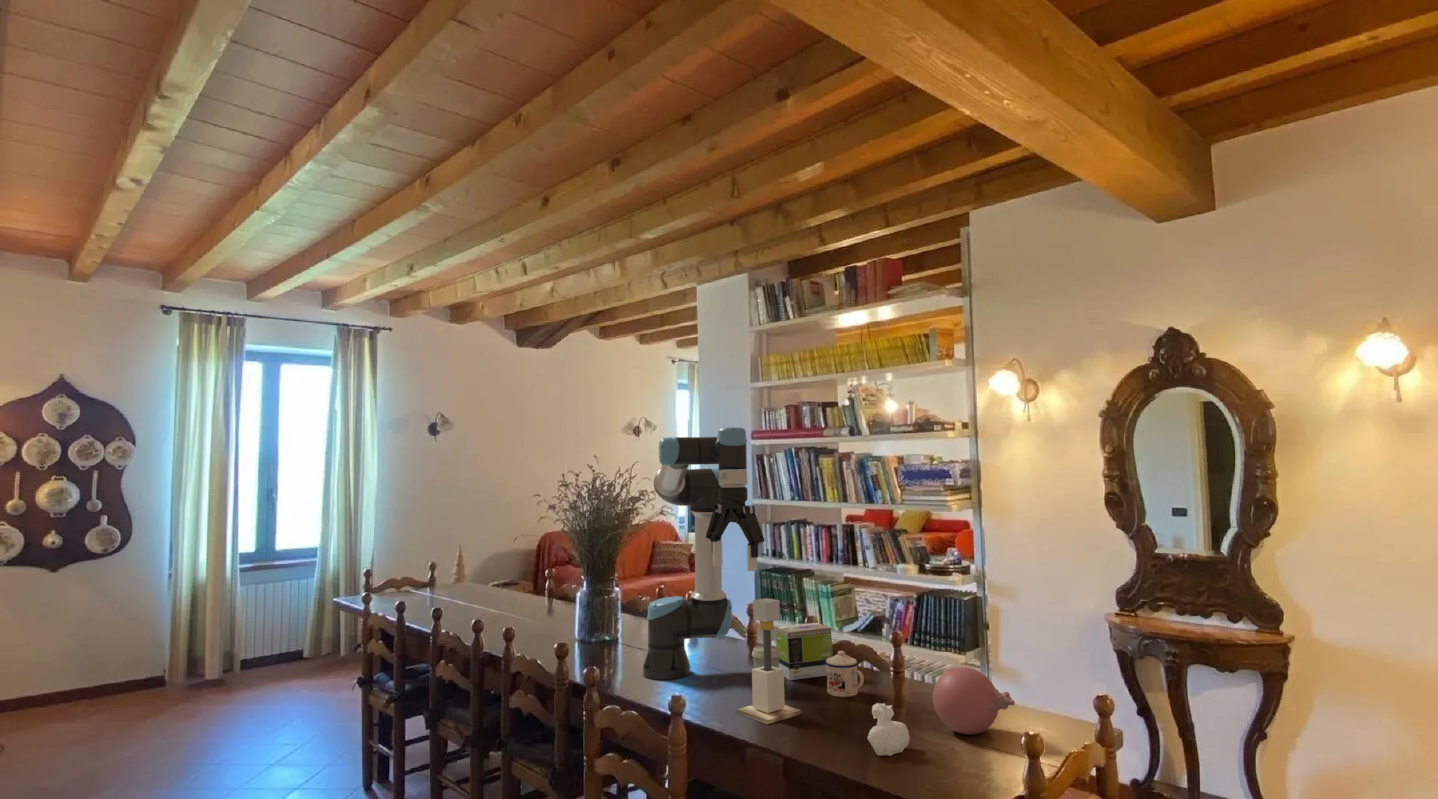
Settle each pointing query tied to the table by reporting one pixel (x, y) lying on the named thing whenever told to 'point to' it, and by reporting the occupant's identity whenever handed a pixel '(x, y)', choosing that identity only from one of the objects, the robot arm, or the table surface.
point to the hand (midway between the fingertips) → (734, 568)
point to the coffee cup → (759, 656)
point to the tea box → (804, 650)
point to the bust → (887, 732)
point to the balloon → (968, 700)
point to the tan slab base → (768, 714)
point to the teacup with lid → (843, 675)
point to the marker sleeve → (768, 689)
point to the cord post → (766, 624)
